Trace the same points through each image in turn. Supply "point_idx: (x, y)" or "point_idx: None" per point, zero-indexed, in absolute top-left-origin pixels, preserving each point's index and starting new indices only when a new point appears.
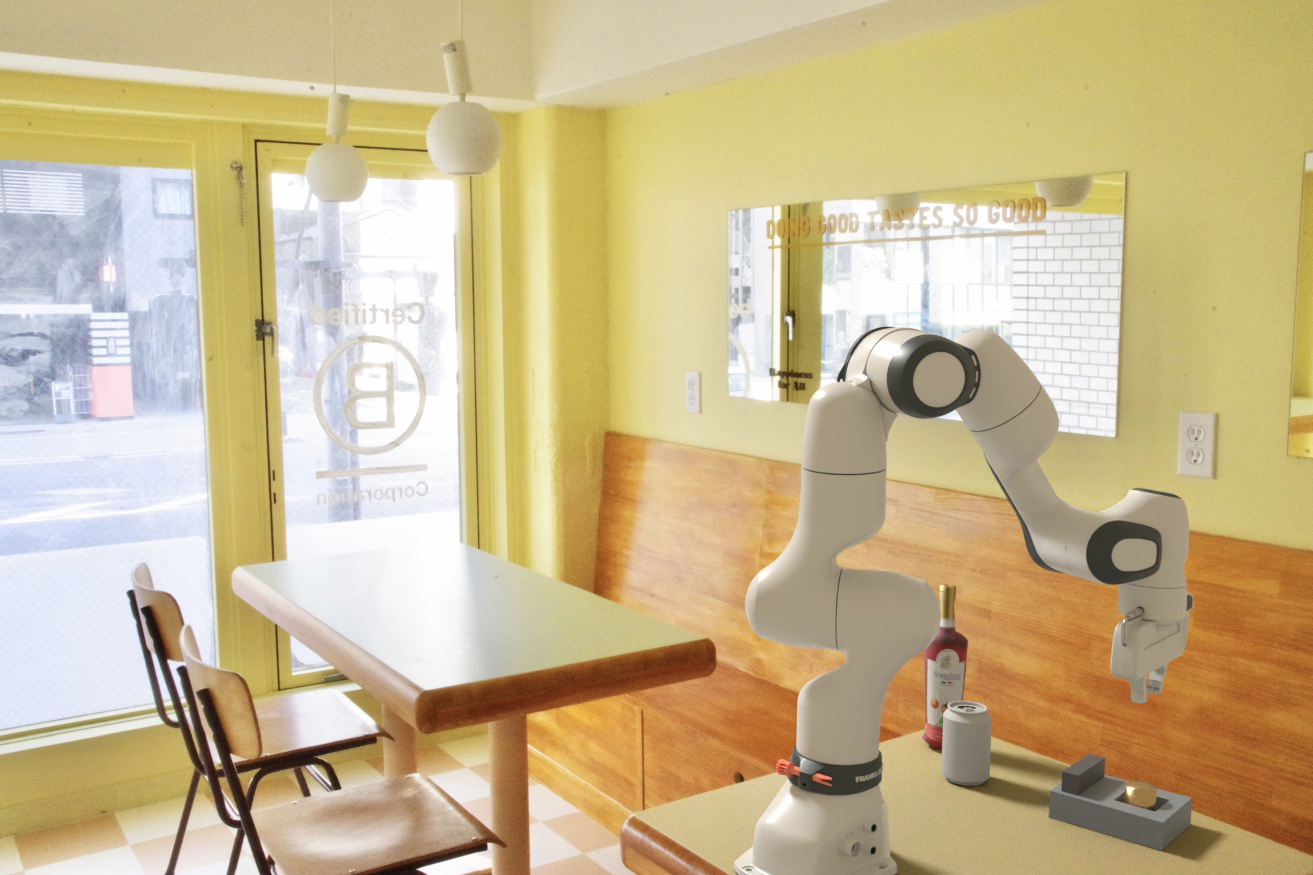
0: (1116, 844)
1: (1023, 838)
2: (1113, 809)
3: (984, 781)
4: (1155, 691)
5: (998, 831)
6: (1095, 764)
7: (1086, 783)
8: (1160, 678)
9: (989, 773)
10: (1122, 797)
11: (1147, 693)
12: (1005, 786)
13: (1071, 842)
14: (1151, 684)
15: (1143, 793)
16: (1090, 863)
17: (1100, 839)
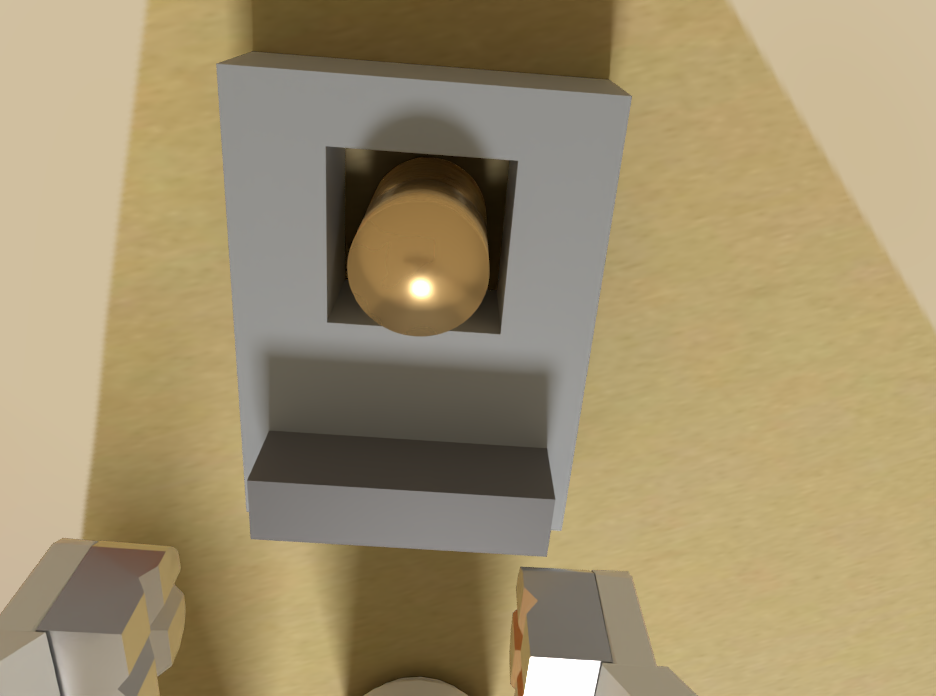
0: (648, 233)
1: (773, 472)
2: (595, 307)
3: (421, 679)
4: (171, 582)
5: (760, 538)
6: (363, 486)
7: (459, 457)
8: (9, 675)
9: (396, 692)
10: None
11: (537, 625)
12: (392, 628)
13: (721, 355)
14: (145, 672)
15: (482, 240)
16: (869, 257)
17: (637, 289)
